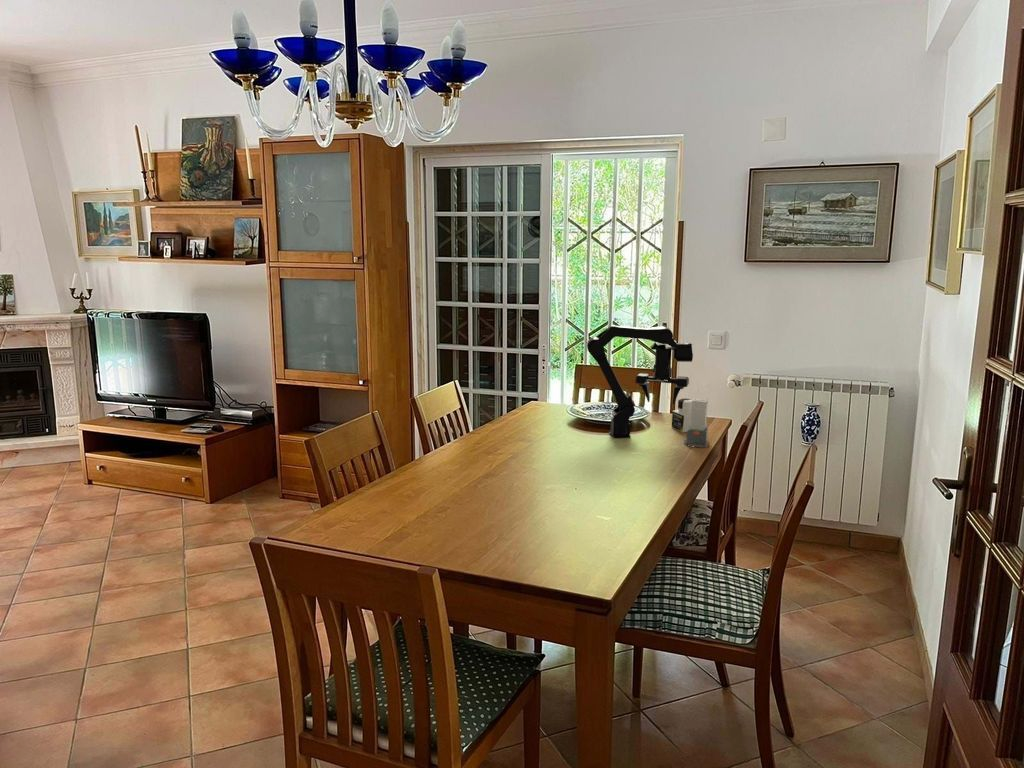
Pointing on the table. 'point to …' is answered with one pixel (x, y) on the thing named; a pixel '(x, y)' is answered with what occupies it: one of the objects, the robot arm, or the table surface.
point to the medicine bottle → (682, 415)
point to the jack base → (697, 438)
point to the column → (698, 414)
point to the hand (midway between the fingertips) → (661, 402)
